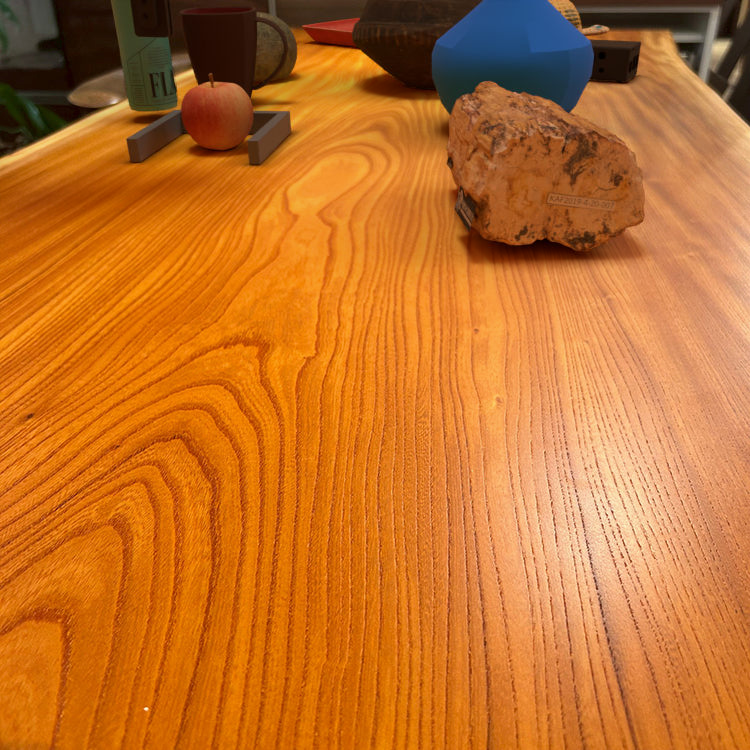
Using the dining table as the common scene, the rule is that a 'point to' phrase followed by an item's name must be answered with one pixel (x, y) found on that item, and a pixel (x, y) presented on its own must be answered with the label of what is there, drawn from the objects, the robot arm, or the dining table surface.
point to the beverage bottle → (144, 64)
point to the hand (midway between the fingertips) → (155, 35)
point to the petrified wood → (539, 172)
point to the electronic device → (615, 60)
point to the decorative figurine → (576, 18)
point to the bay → (150, 139)
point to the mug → (226, 44)
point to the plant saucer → (332, 32)
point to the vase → (513, 53)
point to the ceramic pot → (407, 35)
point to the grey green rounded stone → (273, 49)
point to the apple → (217, 114)
